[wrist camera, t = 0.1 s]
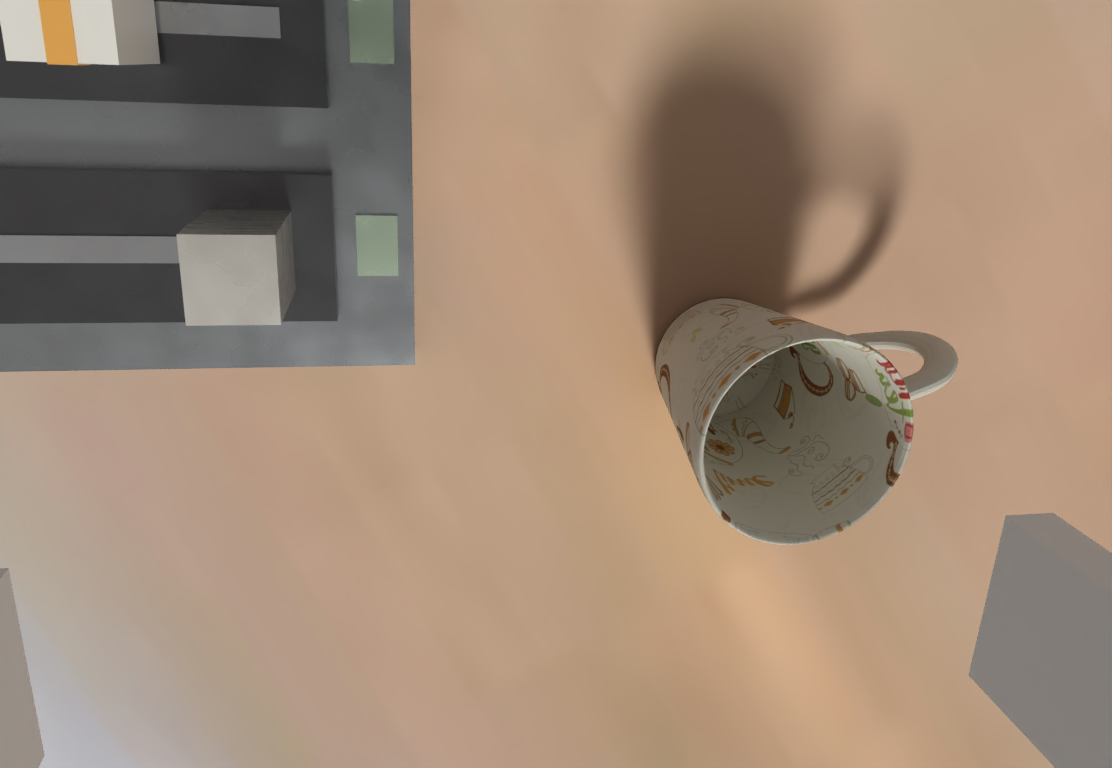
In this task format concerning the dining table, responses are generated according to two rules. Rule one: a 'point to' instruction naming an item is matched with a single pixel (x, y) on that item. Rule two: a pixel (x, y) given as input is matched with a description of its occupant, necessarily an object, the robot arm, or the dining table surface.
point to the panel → (214, 195)
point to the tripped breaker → (80, 31)
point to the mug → (791, 415)
